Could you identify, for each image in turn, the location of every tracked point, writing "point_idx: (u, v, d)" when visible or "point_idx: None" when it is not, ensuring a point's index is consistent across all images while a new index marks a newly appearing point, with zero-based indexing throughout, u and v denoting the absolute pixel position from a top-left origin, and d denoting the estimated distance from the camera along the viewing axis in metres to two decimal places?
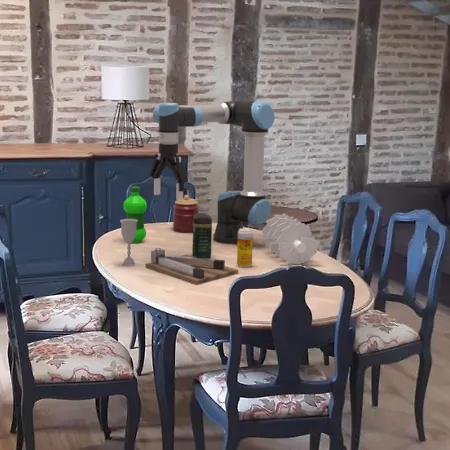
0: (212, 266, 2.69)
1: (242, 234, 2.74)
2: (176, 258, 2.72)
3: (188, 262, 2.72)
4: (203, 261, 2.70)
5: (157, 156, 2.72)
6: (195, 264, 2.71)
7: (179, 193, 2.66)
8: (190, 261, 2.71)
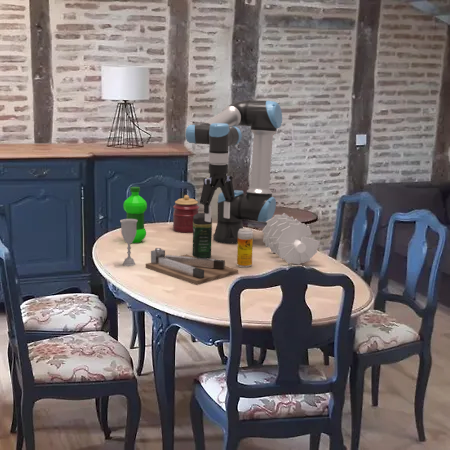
0: (212, 266, 2.69)
1: (242, 234, 2.74)
2: (176, 258, 2.72)
3: (188, 262, 2.72)
4: (203, 261, 2.70)
5: None
6: (195, 264, 2.71)
7: (206, 215, 2.68)
8: (190, 261, 2.71)
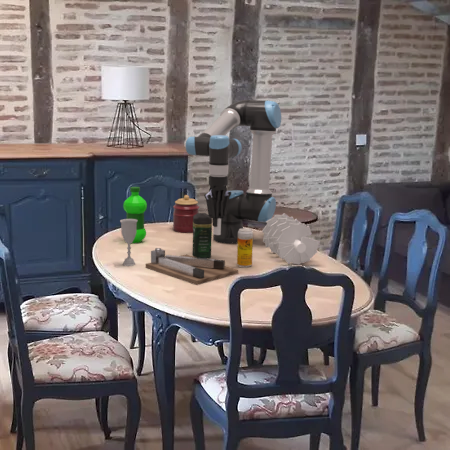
0: (212, 266, 2.69)
1: (242, 234, 2.74)
2: (176, 258, 2.72)
3: (188, 262, 2.72)
4: (203, 261, 2.70)
5: None
6: (195, 264, 2.71)
7: (214, 228, 2.73)
8: (190, 261, 2.71)
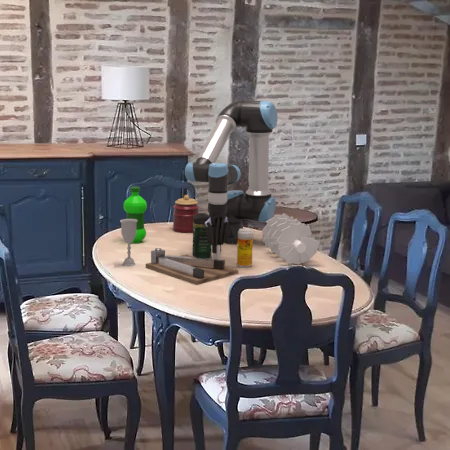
0: (212, 266, 2.69)
1: (242, 234, 2.74)
2: (176, 258, 2.72)
3: (188, 262, 2.72)
4: (203, 261, 2.70)
5: None
6: (195, 264, 2.71)
7: (214, 255, 2.75)
8: (190, 261, 2.71)
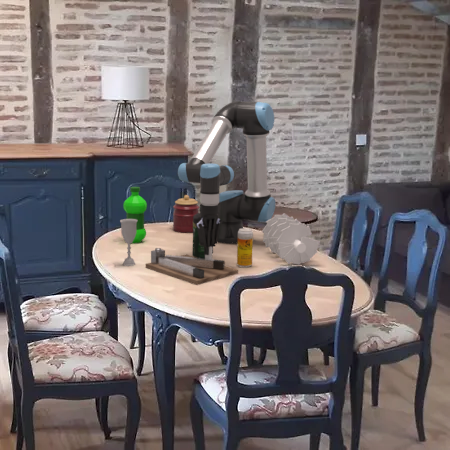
0: (212, 266, 2.69)
1: (242, 234, 2.74)
2: (176, 258, 2.72)
3: (188, 263, 2.71)
4: (203, 261, 2.70)
5: None
6: (195, 264, 2.71)
7: (206, 256, 2.72)
8: (190, 261, 2.71)
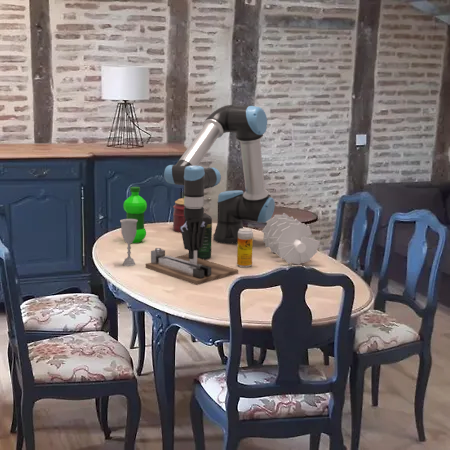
0: None
1: (242, 234, 2.74)
2: (171, 259, 2.70)
3: None
4: (192, 265, 2.63)
5: None
6: None
7: (191, 260, 2.66)
8: None
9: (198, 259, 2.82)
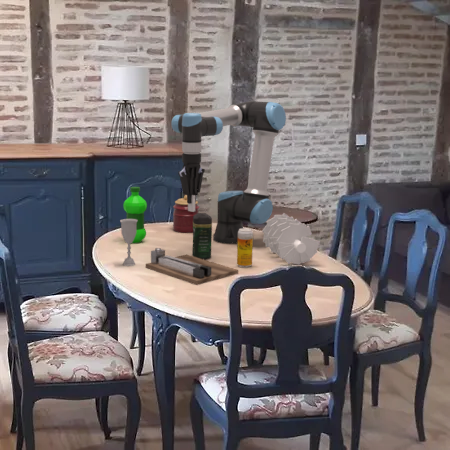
0: None
1: (242, 234, 2.74)
2: (171, 259, 2.70)
3: None
4: (192, 266, 2.63)
5: None
6: None
7: (189, 205, 2.77)
8: None
9: (198, 259, 2.82)
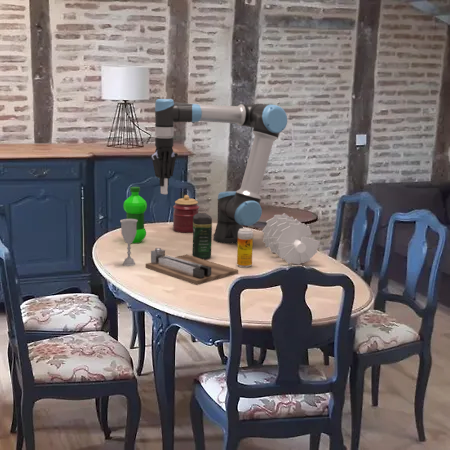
0: None
1: (242, 234, 2.74)
2: (171, 259, 2.70)
3: None
4: (192, 266, 2.63)
5: None
6: None
7: (161, 188, 2.87)
8: None
9: (198, 259, 2.82)
